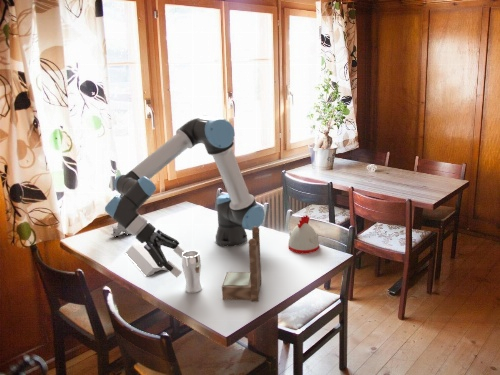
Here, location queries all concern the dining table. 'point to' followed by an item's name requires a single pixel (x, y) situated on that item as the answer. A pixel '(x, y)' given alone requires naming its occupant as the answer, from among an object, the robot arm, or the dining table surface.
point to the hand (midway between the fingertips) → (184, 266)
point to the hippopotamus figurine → (119, 230)
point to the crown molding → (143, 260)
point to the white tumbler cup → (192, 270)
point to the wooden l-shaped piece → (245, 275)
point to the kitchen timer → (303, 238)
